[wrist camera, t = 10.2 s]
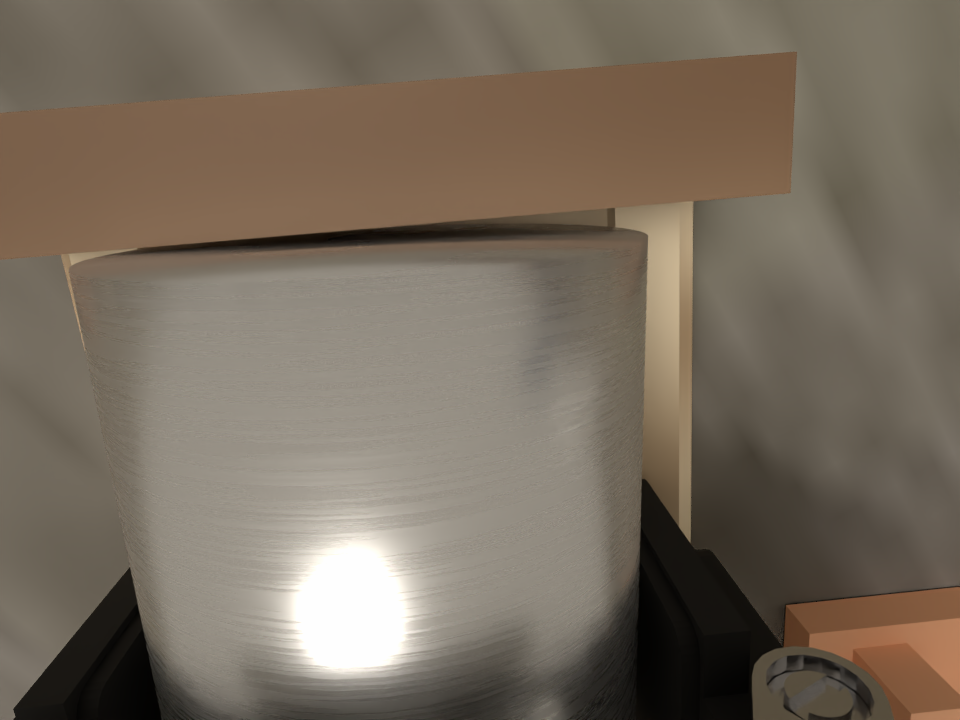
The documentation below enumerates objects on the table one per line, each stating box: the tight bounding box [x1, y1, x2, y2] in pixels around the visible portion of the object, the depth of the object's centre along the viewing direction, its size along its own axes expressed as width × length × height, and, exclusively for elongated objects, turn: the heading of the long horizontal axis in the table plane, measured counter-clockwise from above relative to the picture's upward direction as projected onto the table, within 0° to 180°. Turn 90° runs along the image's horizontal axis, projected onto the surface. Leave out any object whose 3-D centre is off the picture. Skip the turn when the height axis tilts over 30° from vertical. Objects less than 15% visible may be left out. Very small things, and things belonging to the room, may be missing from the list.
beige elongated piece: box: [0, 52, 797, 544], centre depth 12 cm, size 21×10×5 cm, turn 5°
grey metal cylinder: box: [69, 224, 648, 720], centre depth 9 cm, size 10×6×6 cm, turn 2°
